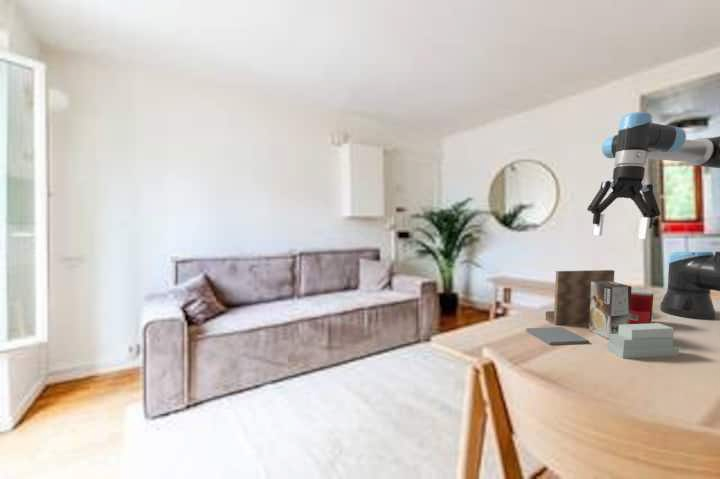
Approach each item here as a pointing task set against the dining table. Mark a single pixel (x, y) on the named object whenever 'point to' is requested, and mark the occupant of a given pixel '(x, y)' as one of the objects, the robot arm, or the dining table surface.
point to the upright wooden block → (575, 295)
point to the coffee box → (609, 307)
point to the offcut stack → (643, 341)
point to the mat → (557, 335)
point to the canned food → (641, 306)
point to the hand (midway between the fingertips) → (620, 237)
